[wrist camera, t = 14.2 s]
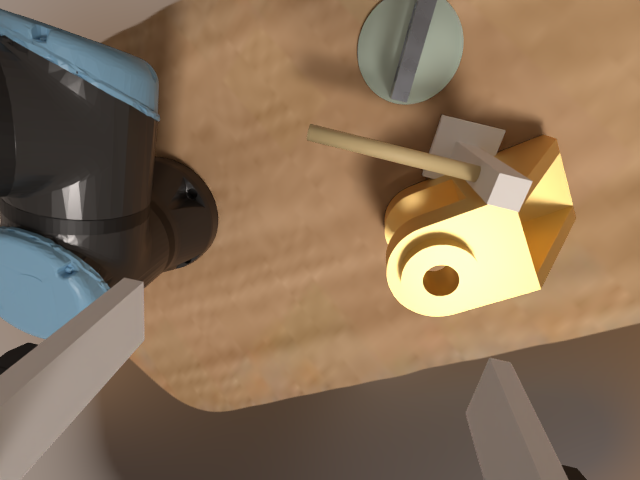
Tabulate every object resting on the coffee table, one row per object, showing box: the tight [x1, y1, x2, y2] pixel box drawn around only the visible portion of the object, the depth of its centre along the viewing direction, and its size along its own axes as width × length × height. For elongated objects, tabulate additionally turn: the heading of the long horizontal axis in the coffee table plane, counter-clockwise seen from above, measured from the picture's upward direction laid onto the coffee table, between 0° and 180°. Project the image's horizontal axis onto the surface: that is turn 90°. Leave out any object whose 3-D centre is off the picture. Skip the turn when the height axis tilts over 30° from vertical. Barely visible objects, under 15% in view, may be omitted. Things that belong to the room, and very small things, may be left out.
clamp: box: [384, 135, 576, 316], centre depth 39 cm, size 20×9×16 cm, turn 114°
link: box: [389, 0, 437, 103], centre depth 37 cm, size 2×10×8 cm, turn 167°
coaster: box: [357, 0, 463, 104], centre depth 41 cm, size 11×11×1 cm
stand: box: [307, 115, 533, 212], centre depth 37 cm, size 20×7×18 cm, turn 77°
